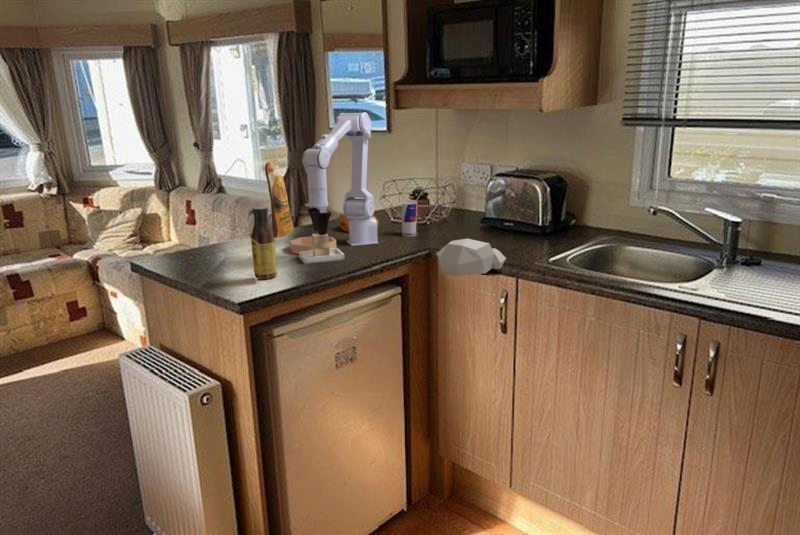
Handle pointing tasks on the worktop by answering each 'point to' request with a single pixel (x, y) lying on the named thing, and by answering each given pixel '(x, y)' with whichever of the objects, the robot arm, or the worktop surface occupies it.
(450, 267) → the rock
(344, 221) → the croissant
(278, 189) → the pancake mix bag
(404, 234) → the energy drink
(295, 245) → the pinkish-brown octagonal ring
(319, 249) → the beech peg
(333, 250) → the tray
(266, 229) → the sauce bottle
